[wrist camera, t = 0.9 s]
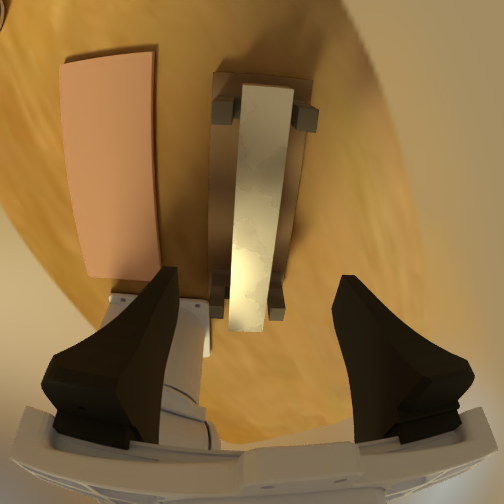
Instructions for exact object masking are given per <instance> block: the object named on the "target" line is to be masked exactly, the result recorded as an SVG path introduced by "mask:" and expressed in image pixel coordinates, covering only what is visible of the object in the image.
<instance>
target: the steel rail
mask: <svg viewBox="0 0 504 504" xmlns="http://www.w3.org/2000/svg"><path fill="white" fill-rule="evenodd" d="M293 94H294V89H292V88H289V87H286V86H277V85H266V84H254V83H243V87H242V100H241V114H240V128H239V143H238V158H237V173H236V190H235V207H234V224H233V243H232V263H231V284H230V306H229V331H245V332H262V330H263V324H264V317H265V310H266V304H267V297H268V290H269V283H270V276H271V269H272V262H273V254H274V247H275V240H276V233H277V225H278V218H279V210H280V202H281V195H282V187H283V179H284V171H285V163H286V154H287V146H288V138H289V129H290V121H291V112H292V103H293Z"/></svg>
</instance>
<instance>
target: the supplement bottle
mask: <svg viewBox="0 0 504 504" xmlns="http://www.w3.org/2000/svg"><path fill="white" fill-rule="evenodd" d="M3 19H4V4H3V1H2V0H0V29H1V26H2V23H3Z"/></svg>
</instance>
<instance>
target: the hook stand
mask: <svg viewBox="0 0 504 504" xmlns="http://www.w3.org/2000/svg"><path fill="white" fill-rule="evenodd" d="M243 83H254V84H266V85H277V86H286V87H289V88H292V89H294V94H293V103H292V112H291V121H290V129H289V138H288V146H287V154H286V163H285V171H284V179H283V187H282V195H281V202H280V210H279V218H278V225H277V233H276V240H275V247H274V254H273V262H272V269H271V276H270V283H269V290H268V297H267V304H268V315H269V321H283V319H284V314H285V302H284V296H283V289H282V286H283V280H284V275H285V269H286V263H287V257H288V251H289V245H290V239H291V233H292V227H293V221H294V214H295V208H296V201H297V195H298V188H299V181H300V175H301V168H302V161H303V154H304V146H305V139H306V132H314V133H316V129H317V121H318V114H319V110H318V109H316V108H315V107H313V106H311V105H310V100H311V92H312V84H313V81H311V80H305V79H298V78H290V77H281V76H271V75H259V74H245V73H225V72H213V86H212V104H211V125H210V151H209V188H208V294H210V299H209V318H217V319H223V315H224V299H230V284H231V263H232V243H233V224H234V207H235V190H236V173H237V158H238V143H239V128H240V114H241V100H242V87H243Z"/></svg>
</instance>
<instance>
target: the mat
mask: <svg viewBox="0 0 504 504" xmlns="http://www.w3.org/2000/svg"><path fill="white" fill-rule="evenodd" d="M154 59H155V52H140V53H130V54H121V55H113V56H106V57H99V58H93V59H87V60H81V61H76V62H71V63H66V64H61V65H59V80H60V108H61V124H62V136H63V146H64V155H65V163H66V170H67V177H68V184H69V190H70V196H71V202H72V207H73V212H74V218H75V222H76V227H77V232H78V236H79V241H80V245H81V249H82V253H83V258H84V261H85V265H86V269H87V273H88V277H100V278H112V279H125V280H138V281H151V280H152V279H153V278H154V276H155V275H156V274H157V273H158V271H159V270H160V269H161V268H162V263H161V254H160V243H159V232H158V219H157V206H156V189H155V168H154V132H153V93H154Z"/></svg>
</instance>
